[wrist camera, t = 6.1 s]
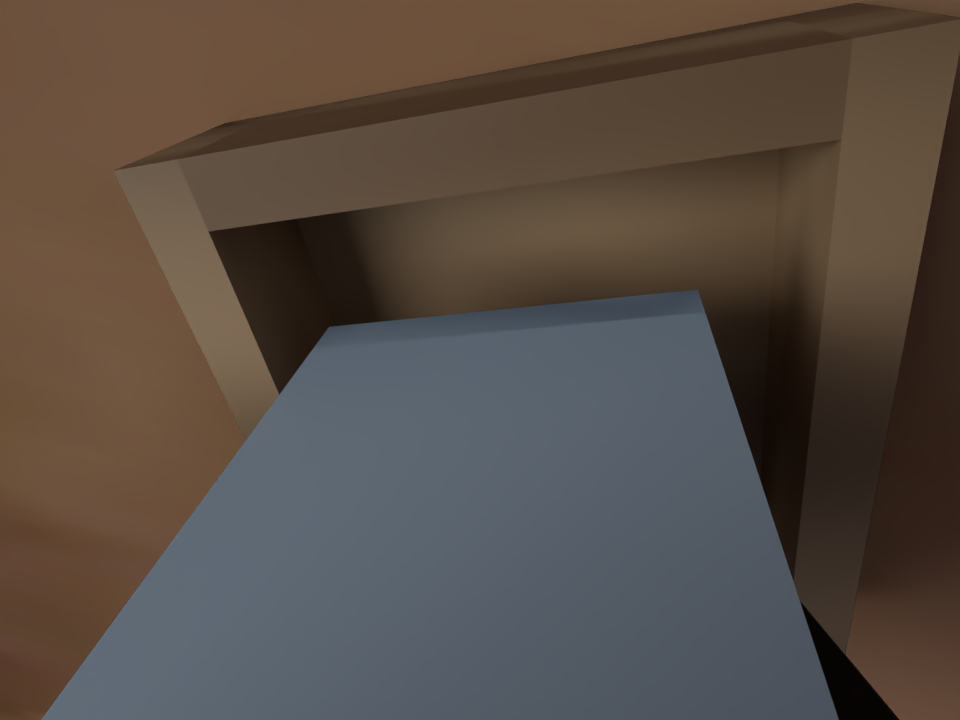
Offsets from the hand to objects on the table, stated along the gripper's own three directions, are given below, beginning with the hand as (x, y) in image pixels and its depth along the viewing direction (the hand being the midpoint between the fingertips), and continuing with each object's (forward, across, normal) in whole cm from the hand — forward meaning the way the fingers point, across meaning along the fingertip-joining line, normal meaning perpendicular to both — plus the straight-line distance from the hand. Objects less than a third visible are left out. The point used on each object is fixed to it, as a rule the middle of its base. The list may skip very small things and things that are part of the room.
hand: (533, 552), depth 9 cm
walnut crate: (+4, 0, 0) cm, 4 cm away
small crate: (+1, 0, 0) cm, 1 cm away
